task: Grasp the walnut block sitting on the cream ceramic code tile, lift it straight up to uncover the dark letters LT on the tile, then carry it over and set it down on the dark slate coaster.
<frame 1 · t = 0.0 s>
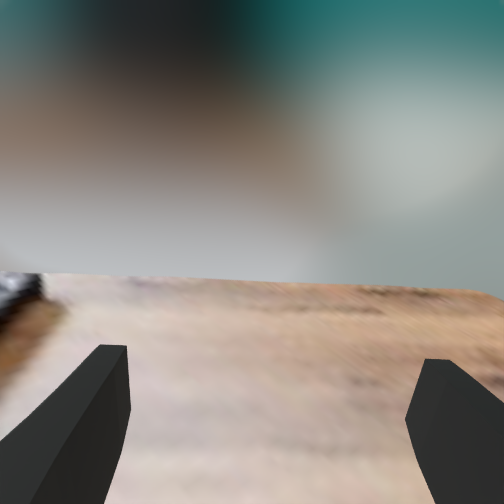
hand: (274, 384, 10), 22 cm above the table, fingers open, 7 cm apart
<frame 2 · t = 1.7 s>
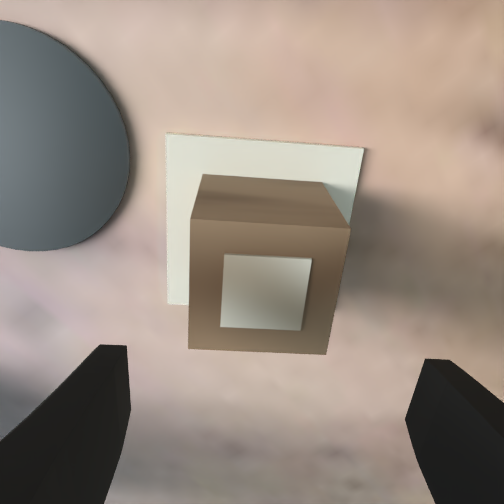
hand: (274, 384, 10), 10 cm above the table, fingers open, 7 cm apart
slate coaster: (16, 146, 17), on the table
walnut block: (257, 233, 18), resting on code tile
code tile: (257, 230, 19), on the table
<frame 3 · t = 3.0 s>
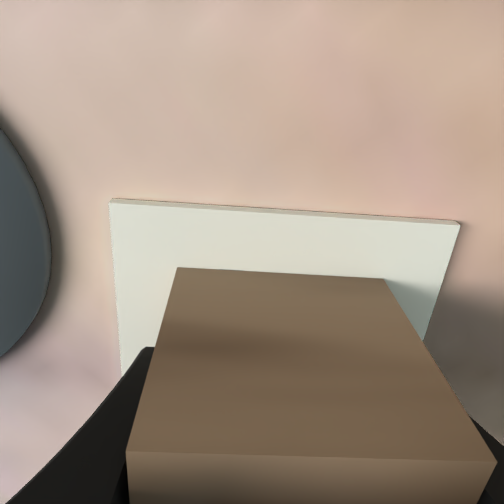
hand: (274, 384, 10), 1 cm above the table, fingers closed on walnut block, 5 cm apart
walnut block: (271, 354, 11), resting on code tile, touching gripper
code tile: (270, 346, 11), on the table
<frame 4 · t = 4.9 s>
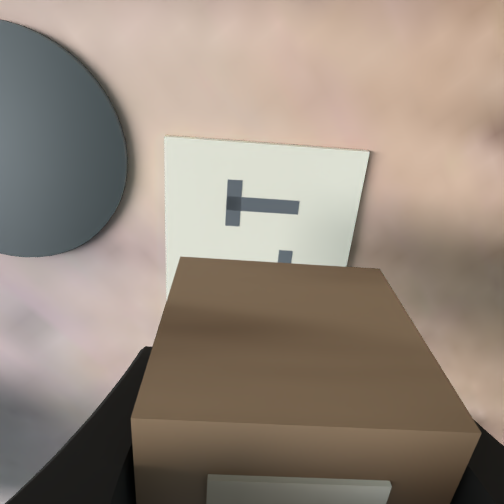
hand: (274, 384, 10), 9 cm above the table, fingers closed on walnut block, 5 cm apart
slate coaster: (10, 149, 16), on the table
walnut block: (271, 343, 11), point 7 cm above the table, touching gripper
code tile: (259, 235, 18), on the table
when the fingers open (3 cm above the table, at t = 7.2 s): walnut block stays where it is, resting on slate coaster.
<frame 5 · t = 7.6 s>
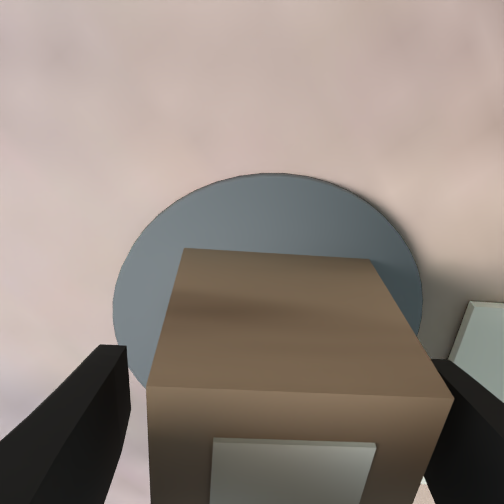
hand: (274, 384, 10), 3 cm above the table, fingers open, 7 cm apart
slate coaster: (267, 318, 13), on the table
walnut block: (268, 329, 12), resting on slate coaster
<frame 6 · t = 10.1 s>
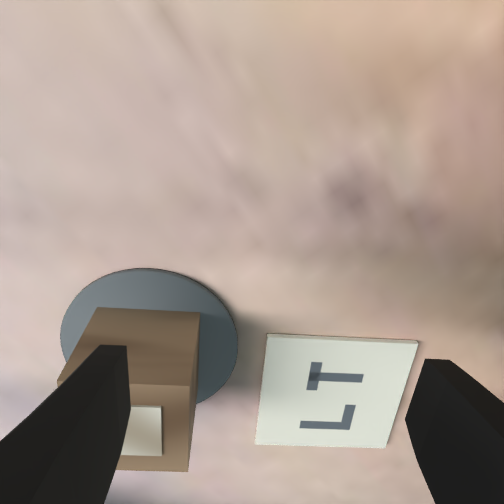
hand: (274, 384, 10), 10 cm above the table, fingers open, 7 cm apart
slate coaster: (151, 343, 22), on the table
walnut block: (150, 349, 21), resting on slate coaster
code tile: (330, 393, 24), on the table
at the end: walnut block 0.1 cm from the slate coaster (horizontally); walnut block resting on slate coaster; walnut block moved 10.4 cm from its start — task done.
